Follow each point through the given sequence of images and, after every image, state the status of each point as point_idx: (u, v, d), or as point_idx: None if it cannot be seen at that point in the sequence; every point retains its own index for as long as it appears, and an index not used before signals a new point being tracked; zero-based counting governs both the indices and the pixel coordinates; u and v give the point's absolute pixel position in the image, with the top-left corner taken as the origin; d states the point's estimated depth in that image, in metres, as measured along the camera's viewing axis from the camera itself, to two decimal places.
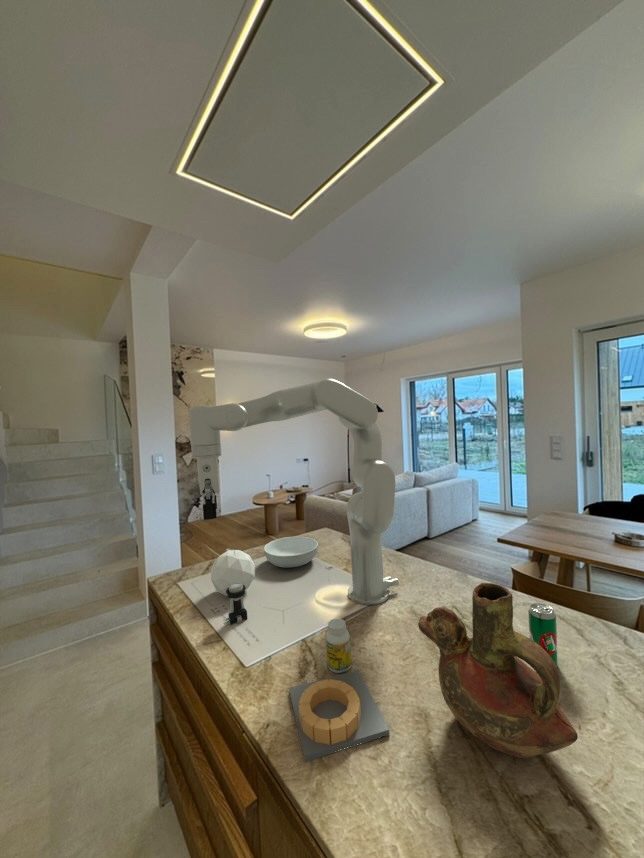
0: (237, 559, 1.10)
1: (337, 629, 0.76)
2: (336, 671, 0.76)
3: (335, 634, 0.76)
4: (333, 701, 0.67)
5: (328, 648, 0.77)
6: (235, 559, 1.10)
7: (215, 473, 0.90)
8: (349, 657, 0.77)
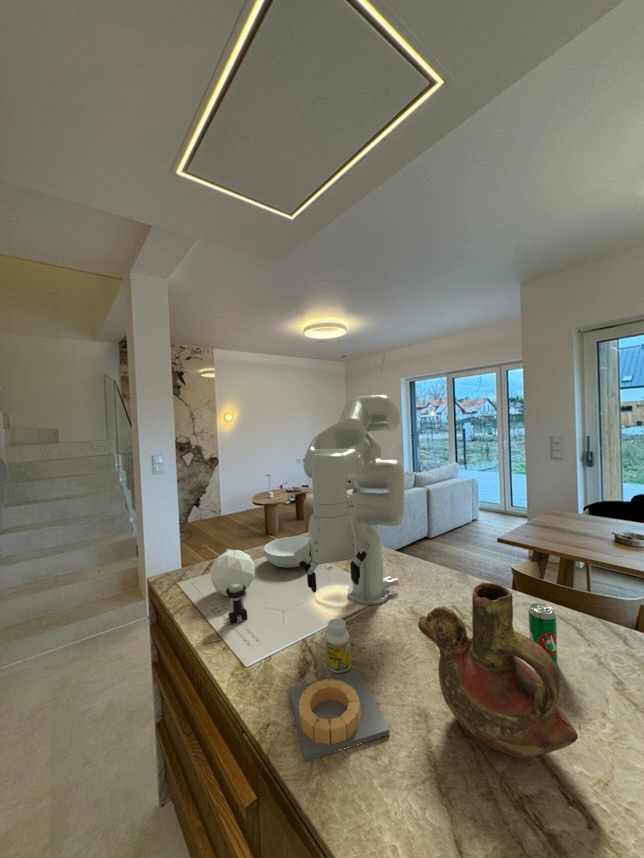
0: (237, 559, 1.10)
1: (337, 629, 0.76)
2: (336, 671, 0.76)
3: (335, 634, 0.76)
4: (333, 701, 0.67)
5: (328, 648, 0.77)
6: (235, 559, 1.10)
7: None
8: (349, 657, 0.77)
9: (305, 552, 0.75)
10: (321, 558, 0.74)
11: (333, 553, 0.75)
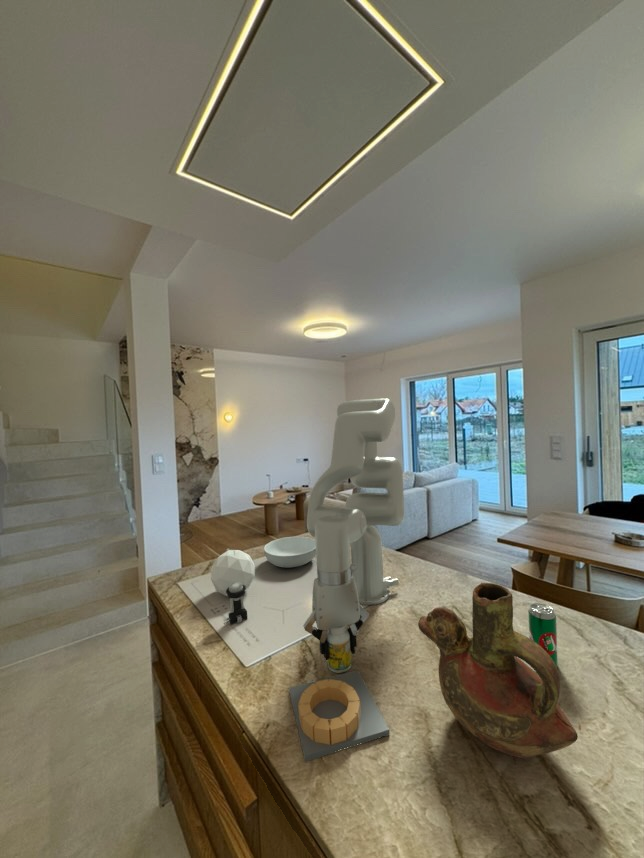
0: (237, 559, 1.10)
1: (337, 629, 0.76)
2: (336, 671, 0.76)
3: (335, 634, 0.76)
4: (333, 701, 0.67)
5: (328, 648, 0.77)
6: (235, 559, 1.10)
7: None
8: (349, 657, 0.77)
9: (313, 621, 0.76)
10: (325, 624, 0.75)
11: (337, 619, 0.75)
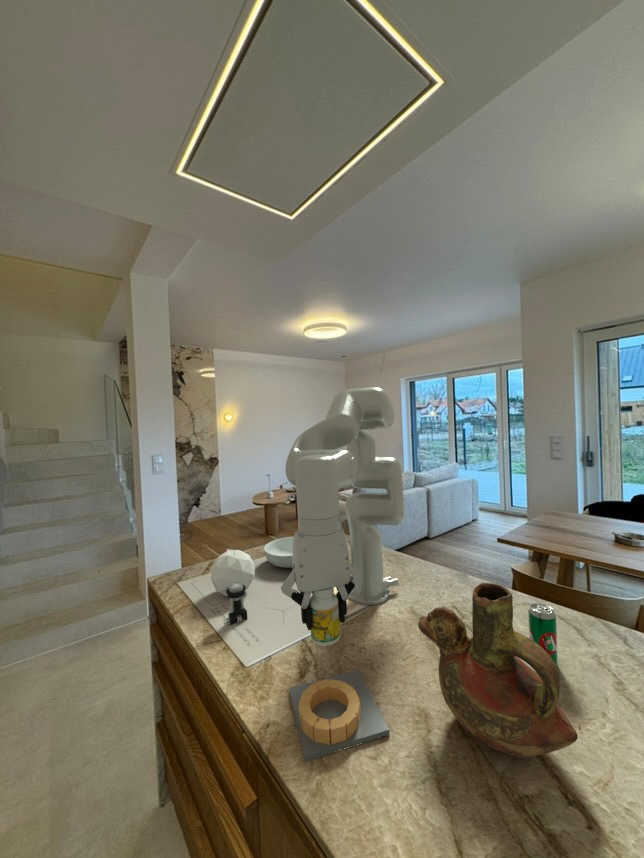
0: (237, 559, 1.10)
1: (323, 592, 0.61)
2: (321, 643, 0.61)
3: (320, 598, 0.61)
4: (333, 701, 0.67)
5: None
6: (235, 559, 1.10)
7: None
8: (337, 626, 0.62)
9: (293, 582, 0.61)
10: (307, 585, 0.60)
11: (322, 579, 0.61)
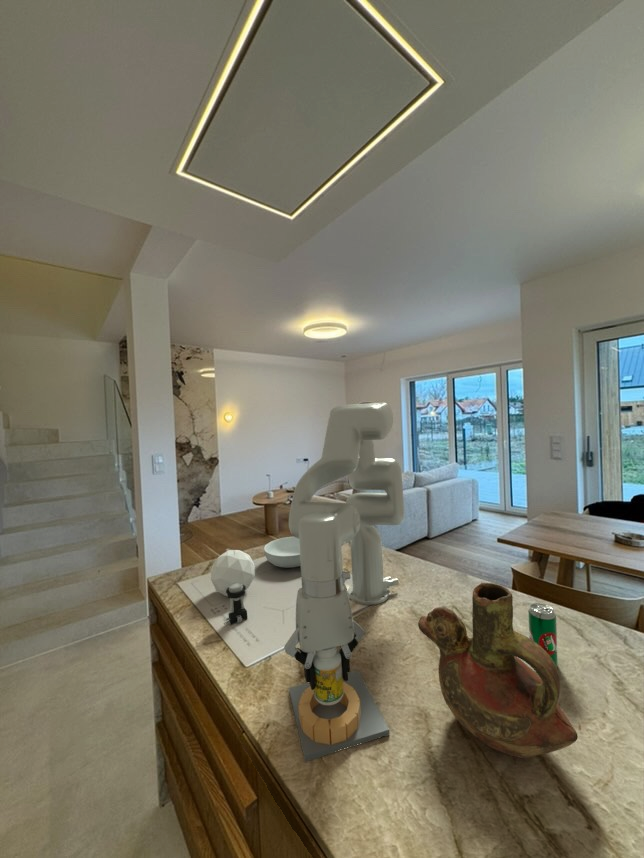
0: (237, 559, 1.10)
1: (326, 651, 0.62)
2: (324, 703, 0.61)
3: (323, 657, 0.62)
4: None
5: (315, 674, 0.62)
6: (235, 559, 1.10)
7: None
8: (341, 685, 0.62)
9: (296, 641, 0.62)
10: (311, 646, 0.61)
11: (325, 639, 0.61)
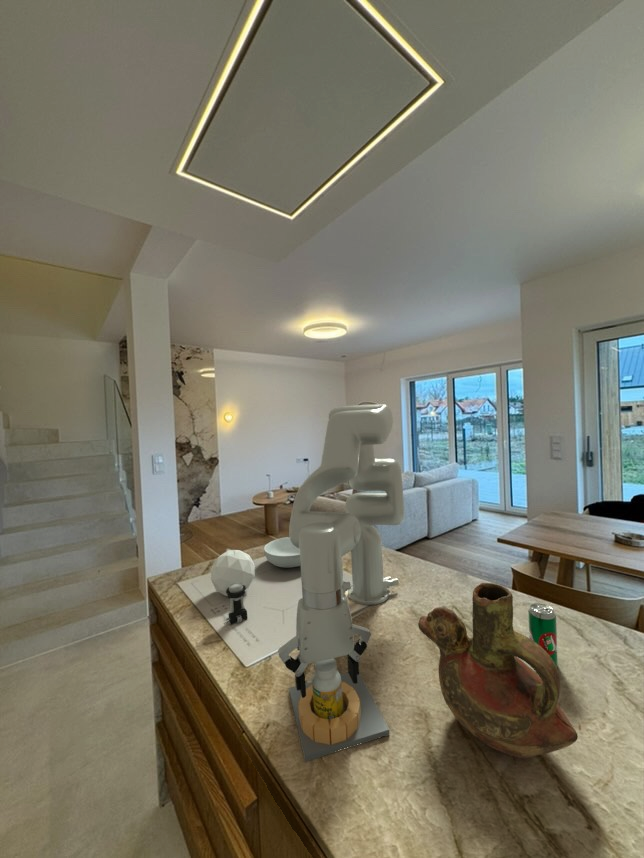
0: (237, 559, 1.10)
1: (326, 673, 0.62)
2: None
3: (323, 679, 0.62)
4: None
5: (315, 695, 0.62)
6: (235, 559, 1.10)
7: None
8: (341, 706, 0.63)
9: (292, 649, 0.61)
10: (311, 657, 0.61)
11: (326, 650, 0.61)
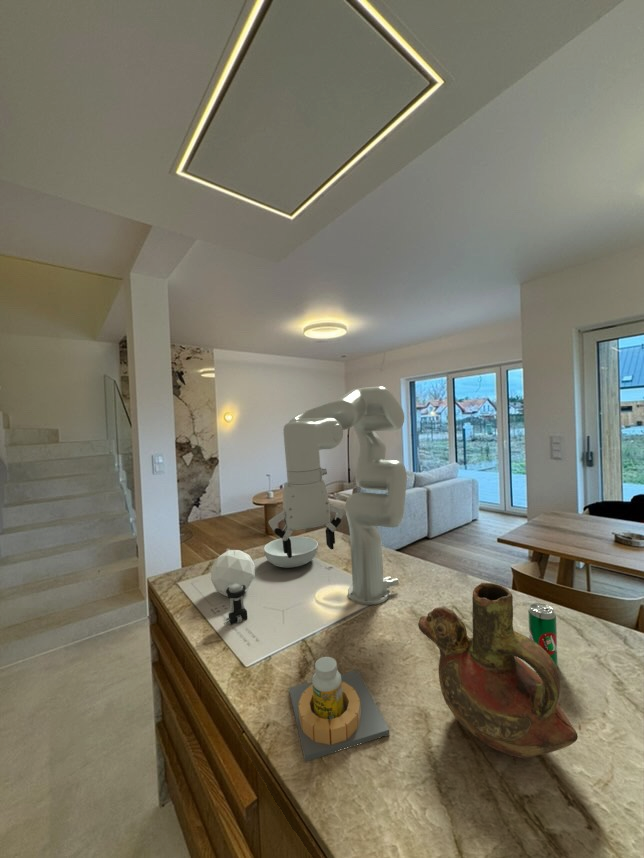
0: (237, 559, 1.10)
1: (326, 672, 0.62)
2: None
3: (323, 678, 0.62)
4: None
5: (315, 695, 0.62)
6: (235, 559, 1.10)
7: None
8: (341, 706, 0.63)
9: (280, 519, 0.76)
10: (295, 524, 0.75)
11: (307, 519, 0.76)
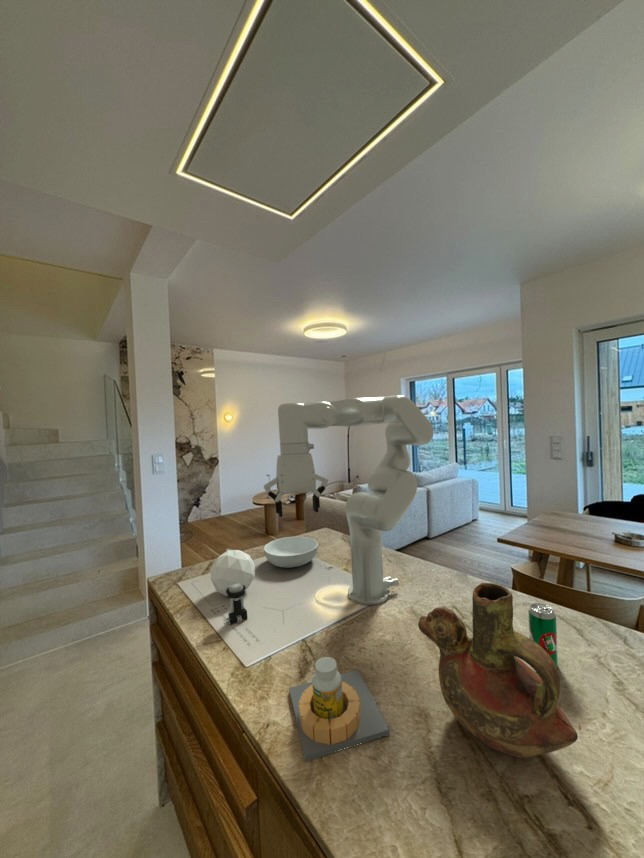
0: (237, 559, 1.10)
1: (326, 673, 0.62)
2: None
3: (323, 679, 0.62)
4: None
5: (315, 695, 0.62)
6: (235, 559, 1.10)
7: None
8: (341, 706, 0.63)
9: (273, 484, 0.91)
10: (286, 488, 0.90)
11: (296, 484, 0.91)
